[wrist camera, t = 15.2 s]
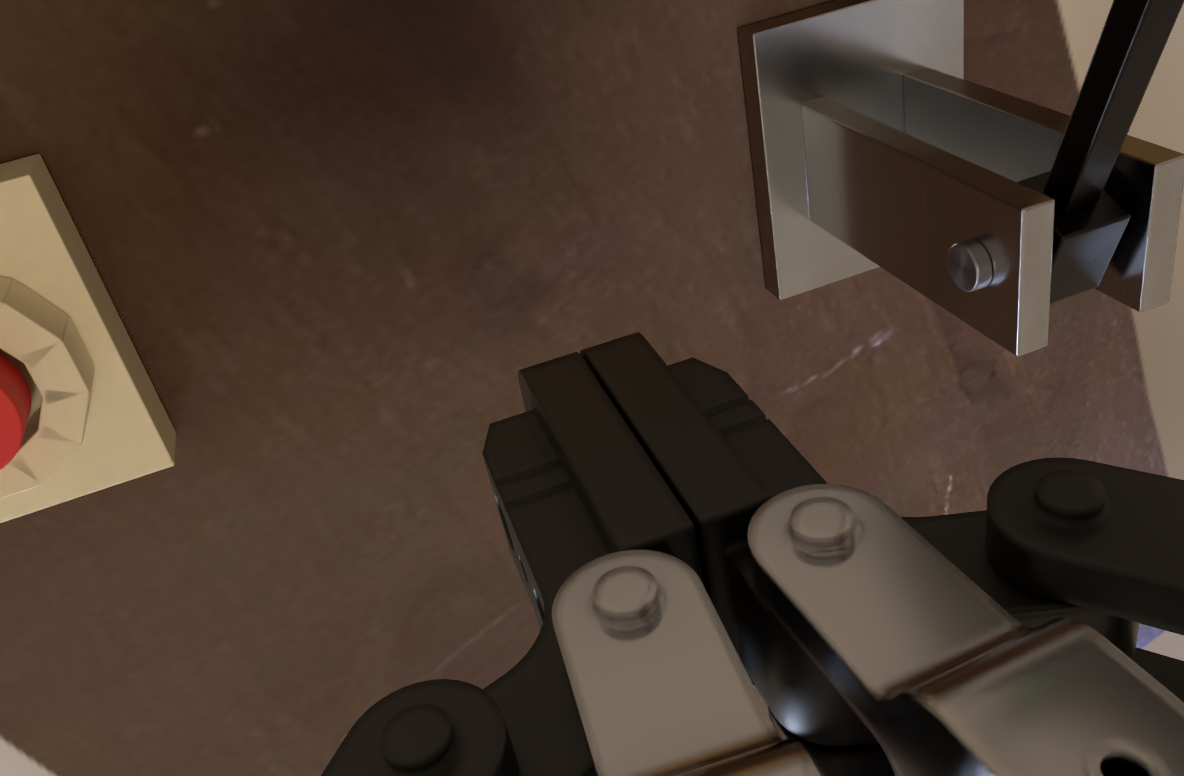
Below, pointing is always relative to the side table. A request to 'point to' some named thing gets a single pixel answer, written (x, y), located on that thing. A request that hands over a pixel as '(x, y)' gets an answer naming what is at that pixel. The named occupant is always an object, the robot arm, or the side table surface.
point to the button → (12, 410)
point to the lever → (1101, 143)
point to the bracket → (926, 170)
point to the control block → (68, 357)
